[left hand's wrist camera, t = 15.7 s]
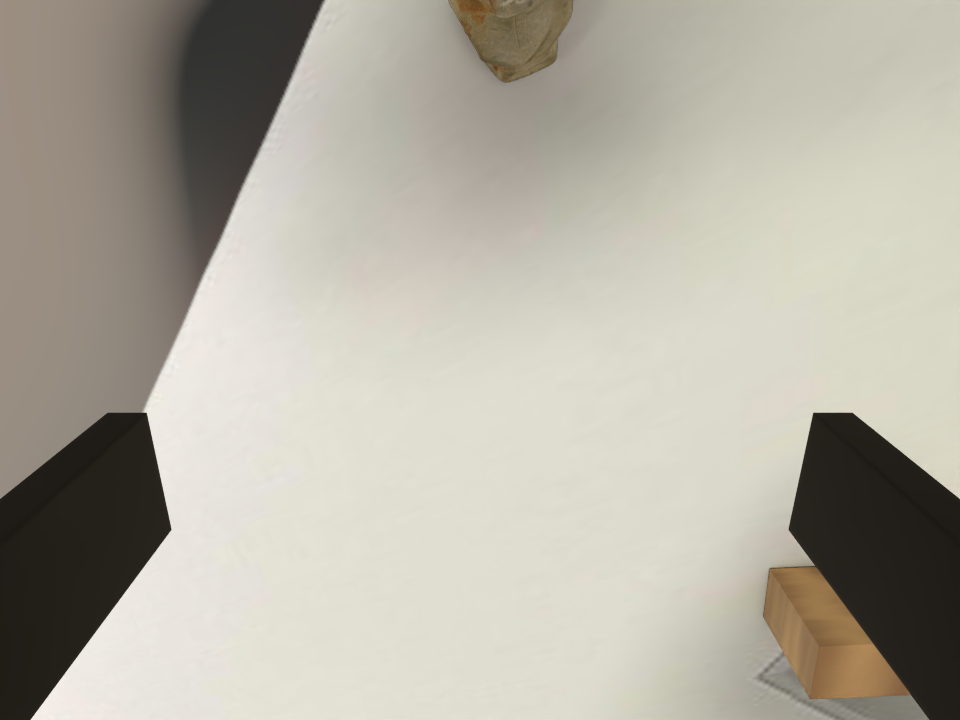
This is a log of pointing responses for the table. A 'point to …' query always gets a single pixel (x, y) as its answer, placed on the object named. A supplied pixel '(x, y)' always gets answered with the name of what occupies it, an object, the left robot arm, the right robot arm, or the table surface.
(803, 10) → the table surface
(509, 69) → the sculpture
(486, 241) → the table surface
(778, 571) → the bar
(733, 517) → the table surface
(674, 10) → the table surface
